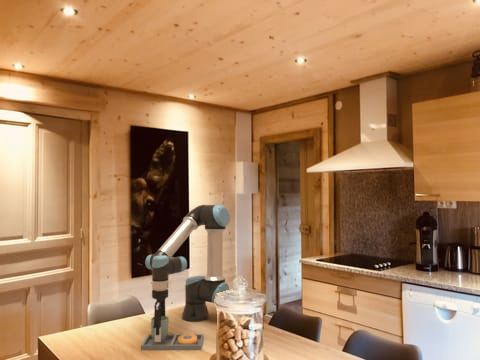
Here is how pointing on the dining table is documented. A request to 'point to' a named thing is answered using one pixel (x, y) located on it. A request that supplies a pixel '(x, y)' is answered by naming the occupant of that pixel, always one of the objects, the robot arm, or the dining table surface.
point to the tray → (171, 343)
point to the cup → (163, 328)
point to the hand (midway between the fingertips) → (159, 338)
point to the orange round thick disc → (187, 339)
